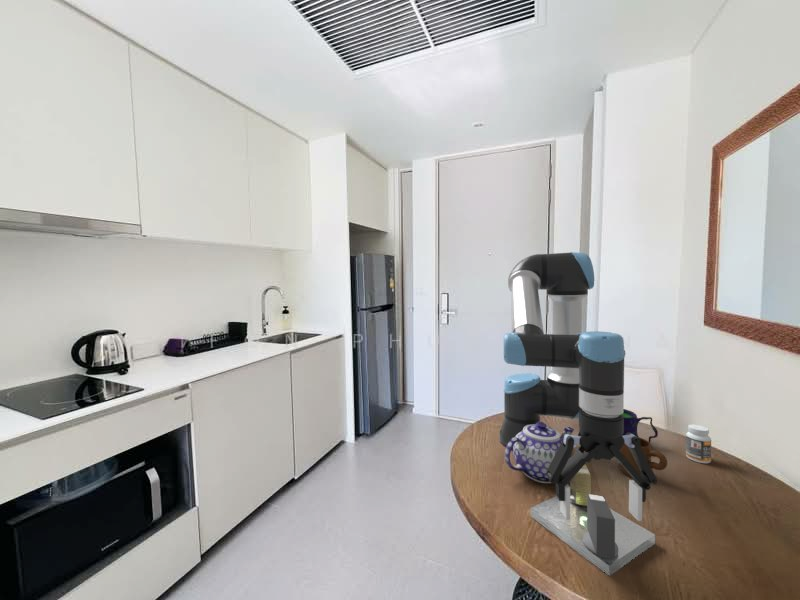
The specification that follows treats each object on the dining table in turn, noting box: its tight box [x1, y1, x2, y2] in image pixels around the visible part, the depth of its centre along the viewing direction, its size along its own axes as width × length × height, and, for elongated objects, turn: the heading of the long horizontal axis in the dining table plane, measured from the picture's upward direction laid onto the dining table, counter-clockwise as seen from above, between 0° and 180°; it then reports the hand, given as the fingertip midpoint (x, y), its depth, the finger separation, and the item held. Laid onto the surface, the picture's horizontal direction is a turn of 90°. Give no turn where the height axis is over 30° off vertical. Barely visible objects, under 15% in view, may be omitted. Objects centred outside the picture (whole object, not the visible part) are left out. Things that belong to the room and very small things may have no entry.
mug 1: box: [621, 408, 659, 444], centre depth 110 cm, size 15×10×10 cm, turn 48°
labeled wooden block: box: [569, 463, 592, 506], centre depth 79 cm, size 7×6×8 cm
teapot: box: [504, 421, 575, 484], centre depth 93 cm, size 25×15×15 cm, turn 109°
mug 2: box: [618, 437, 668, 479], centre depth 90 cm, size 12×8×9 cm, turn 21°
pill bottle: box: [685, 424, 712, 464], centre depth 99 cm, size 6×6×10 cm
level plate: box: [529, 495, 656, 577], centre depth 72 cm, size 18×16×3 cm
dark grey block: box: [583, 493, 618, 558], centre depth 64 cm, size 7×6×8 cm
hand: (599, 515), depth 64 cm, fingers open, 13 cm apart
